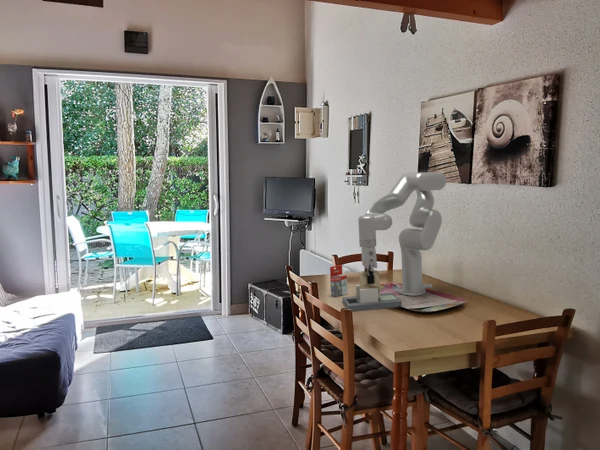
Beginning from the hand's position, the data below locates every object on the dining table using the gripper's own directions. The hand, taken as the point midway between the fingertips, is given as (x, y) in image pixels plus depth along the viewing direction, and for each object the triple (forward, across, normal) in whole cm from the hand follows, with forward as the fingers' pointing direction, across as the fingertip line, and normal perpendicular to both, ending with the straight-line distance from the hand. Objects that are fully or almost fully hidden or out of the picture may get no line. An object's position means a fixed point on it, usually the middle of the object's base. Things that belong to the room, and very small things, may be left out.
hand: (369, 282), depth 217 cm
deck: (+11, 0, 0) cm, 11 cm away
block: (+7, 0, 0) cm, 7 cm away
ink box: (+11, +20, +11) cm, 25 cm away
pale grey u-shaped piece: (+8, 0, +2) cm, 8 cm away
